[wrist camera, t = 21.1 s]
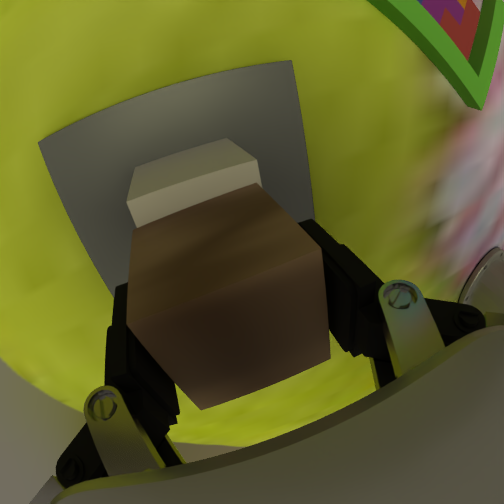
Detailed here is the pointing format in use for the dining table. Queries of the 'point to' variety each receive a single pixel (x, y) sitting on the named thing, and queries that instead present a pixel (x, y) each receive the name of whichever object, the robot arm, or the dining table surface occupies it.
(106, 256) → the base plate
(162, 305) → the walnut cube
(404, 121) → the dining table surface
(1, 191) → the dining table surface
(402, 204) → the dining table surface
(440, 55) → the jigsaw puzzle tray
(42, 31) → the dining table surface
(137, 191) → the cream brick
